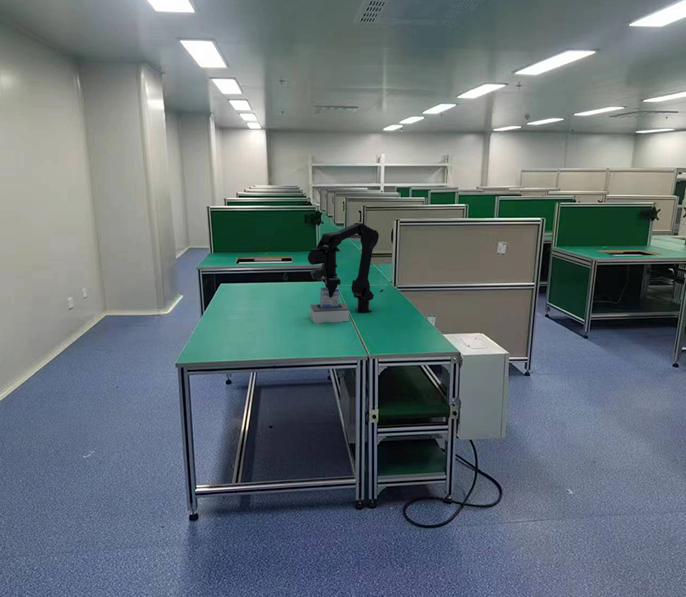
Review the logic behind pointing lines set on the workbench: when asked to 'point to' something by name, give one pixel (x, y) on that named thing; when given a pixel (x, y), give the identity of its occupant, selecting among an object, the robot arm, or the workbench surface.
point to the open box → (329, 313)
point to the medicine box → (329, 299)
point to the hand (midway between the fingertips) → (329, 296)
